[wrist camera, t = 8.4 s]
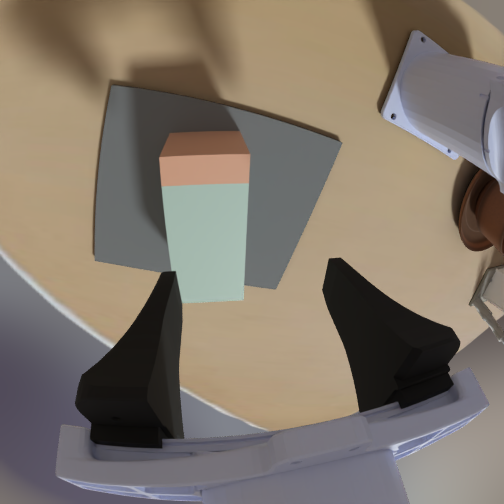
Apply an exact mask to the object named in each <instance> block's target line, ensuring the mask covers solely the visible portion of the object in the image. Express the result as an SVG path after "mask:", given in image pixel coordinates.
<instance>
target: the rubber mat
mask: <svg viewBox="0 0 504 504" xmlns="http://www.w3.org/2000/svg"><path fill="white" fill-rule="evenodd" d="M202 131H240V132H241V135H242V137H243V139H244V141H245V143H246V146H247V148H248V150H249V152H250V172H249V192H248V213H247V234H246V255H245V277H244V285H247V286H254V287H261V288H268V289H276V288H277V286H278V284H279V282H280V280H281V278H282V275H283V273H284V271H285V269H286V267H287V265H288V263H289V261H290V259H291V257H292V254H293V252H294V250H295V248H296V246H297V244H298V242H299V239H300V237H301V235H302V233H303V231H304V229H305V226H306V224H307V222H308V220H309V218H310V216H311V213H312V211H313V209H314V207H315V204H316V202H317V200H318V198H319V196H320V193H321V191H322V189H323V187H324V184H325V182H326V180H327V178H328V175H329V173H330V171H331V168H332V166H333V164H334V161H335V159H336V157H337V154H338V152H339V150H340V147H341V145H342V142H340V141H338V140H335V139H333V138H330V137H327V136H325V135H322V134H319V133H316V132H313V131H311V130H308V129H305V128H302V127H299V126H296V125H293V124H290V123H287V122H283V121H280V120H277V119H274V118H271V117H267V116H264V115H260V114H257V113H253V112H250V111H246V110H242V109H239V108H235V107H231V106H227V105H223V104H219V103H215V102H210V101H206V100H201V99H197V98H192V97H187V96H182V95H177V94H172V93H166V92H161V91H155V90H148V89H142V88H135V87H128V86H120V85H112V86H111V91H110V96H109V101H108V106H107V112H106V118H105V124H104V130H103V137H102V145H101V153H100V161H99V171H98V182H97V196H96V214H95V261H99V262H104V263H110V264H115V265H121V266H127V267H132V268H138V269H144V270H150V271H156V272H166V271H172V270H171V263H170V256H169V248H168V241H167V233H166V224H165V215H164V206H163V196H162V186H161V174H160V161H159V157H160V154H161V152H162V150H163V147H164V145H165V143H166V141H167V138H168V136H169V134H170V133H179V132H202Z"/></svg>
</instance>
